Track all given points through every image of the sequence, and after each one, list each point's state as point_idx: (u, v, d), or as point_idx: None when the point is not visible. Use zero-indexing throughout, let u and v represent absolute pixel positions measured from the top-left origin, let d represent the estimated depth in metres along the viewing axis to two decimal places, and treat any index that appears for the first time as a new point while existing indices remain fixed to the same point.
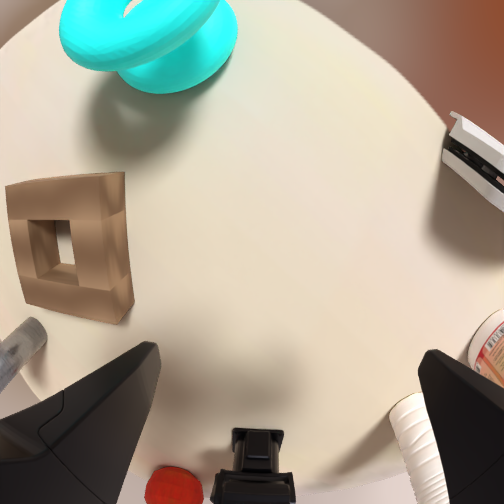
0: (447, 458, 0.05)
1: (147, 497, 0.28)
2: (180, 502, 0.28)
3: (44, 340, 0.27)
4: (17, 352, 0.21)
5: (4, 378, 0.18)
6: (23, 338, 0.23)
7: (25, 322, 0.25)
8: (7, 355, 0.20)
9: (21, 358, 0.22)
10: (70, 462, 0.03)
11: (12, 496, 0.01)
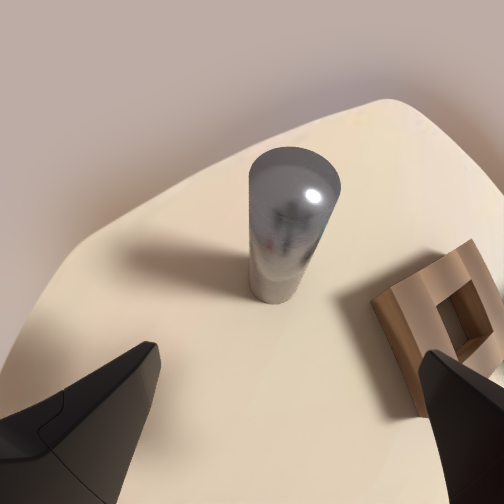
0: (447, 458, 0.05)
1: None
2: None
3: (274, 301, 0.22)
4: (304, 269, 0.18)
5: (302, 250, 0.14)
6: None
7: None
8: None
9: (293, 277, 0.17)
10: (70, 463, 0.03)
11: (12, 496, 0.01)
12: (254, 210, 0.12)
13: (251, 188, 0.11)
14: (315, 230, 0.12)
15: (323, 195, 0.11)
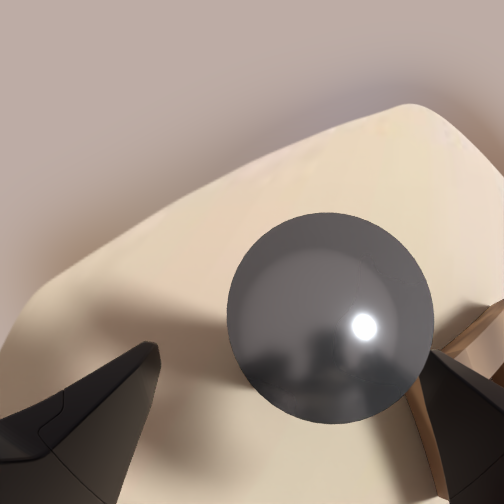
0: (447, 459, 0.05)
1: None
2: None
3: None
4: None
5: None
6: None
7: None
8: None
9: None
10: (70, 463, 0.03)
11: (12, 496, 0.01)
12: None
13: (232, 346, 0.04)
14: None
15: (401, 353, 0.04)
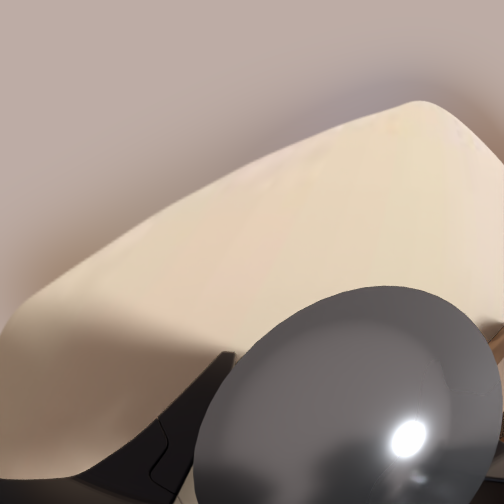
0: None
1: None
2: None
3: None
4: None
5: None
6: None
7: None
8: None
9: None
10: (186, 500, 0.03)
11: None
12: None
13: None
14: None
15: (453, 491, 0.02)
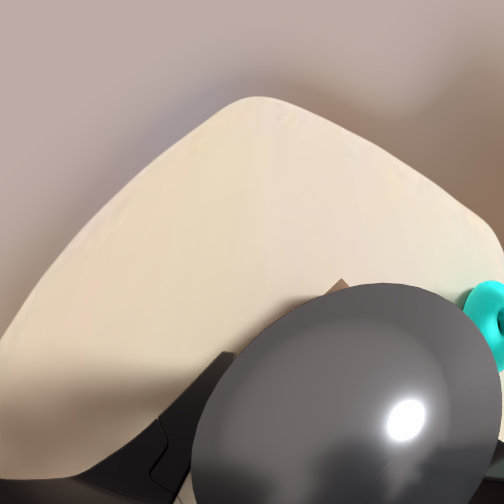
0: None
1: None
2: None
3: None
4: None
5: None
6: None
7: None
8: None
9: None
10: (186, 501, 0.03)
11: None
12: None
13: None
14: None
15: (453, 489, 0.02)
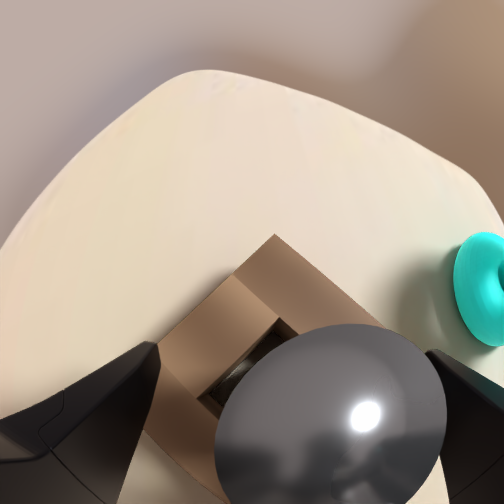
0: (447, 459, 0.05)
1: None
2: None
3: None
4: None
5: None
6: None
7: None
8: None
9: None
10: (70, 462, 0.03)
11: (12, 496, 0.01)
12: None
13: (222, 483, 0.03)
14: None
15: (404, 475, 0.03)
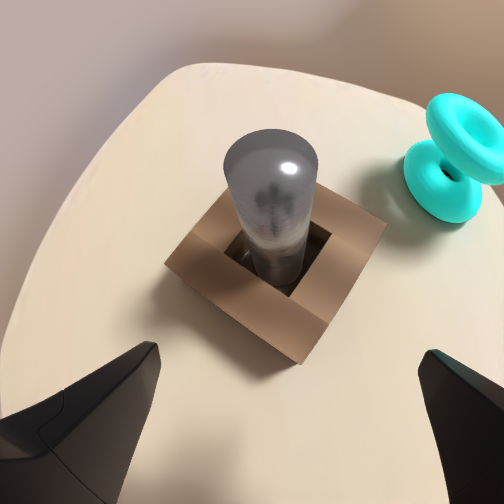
0: (447, 459, 0.05)
1: None
2: None
3: (282, 283, 0.22)
4: (303, 248, 0.17)
5: (292, 230, 0.14)
6: None
7: None
8: (308, 229, 0.16)
9: (293, 258, 0.17)
10: (70, 462, 0.03)
11: (12, 496, 0.01)
12: (235, 200, 0.12)
13: (227, 179, 0.11)
14: (300, 209, 0.12)
15: (300, 173, 0.11)
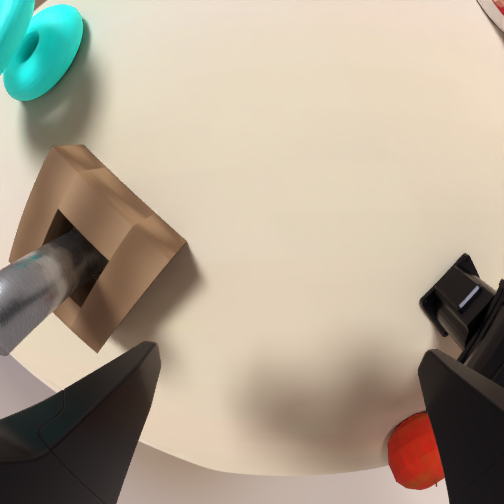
0: (447, 459, 0.05)
1: (398, 478, 0.21)
2: (436, 451, 0.19)
3: None
4: (62, 250, 0.15)
5: (34, 290, 0.12)
6: (72, 236, 0.17)
7: None
8: (42, 254, 0.13)
9: (70, 262, 0.15)
10: (70, 462, 0.03)
11: (12, 496, 0.01)
12: None
13: (5, 355, 0.09)
14: (12, 299, 0.10)
15: None
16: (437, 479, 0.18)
